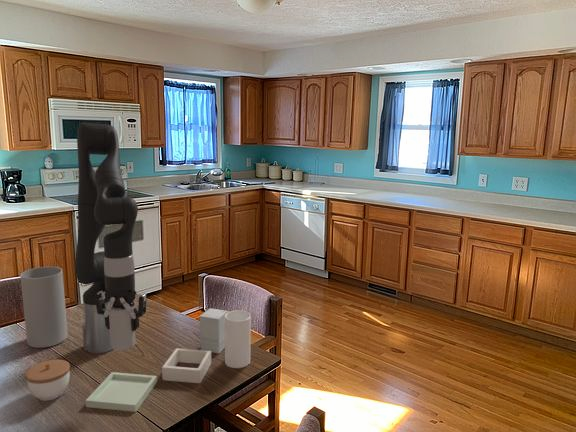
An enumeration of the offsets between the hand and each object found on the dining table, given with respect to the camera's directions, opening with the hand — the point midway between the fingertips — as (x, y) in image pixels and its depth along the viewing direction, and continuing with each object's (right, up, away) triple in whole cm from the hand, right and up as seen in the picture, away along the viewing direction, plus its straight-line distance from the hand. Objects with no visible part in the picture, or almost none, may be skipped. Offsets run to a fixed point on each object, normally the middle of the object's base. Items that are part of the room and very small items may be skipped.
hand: (122, 328), depth 119 cm
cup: (+29, -17, +22) cm, 40 cm away
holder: (+14, -17, +15) cm, 27 cm away
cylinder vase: (-39, -13, +33) cm, 53 cm away
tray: (-1, -19, +3) cm, 20 cm away
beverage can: (0, -5, +1) cm, 5 cm away
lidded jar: (-21, -19, +2) cm, 29 cm away
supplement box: (+20, -15, +31) cm, 40 cm away
